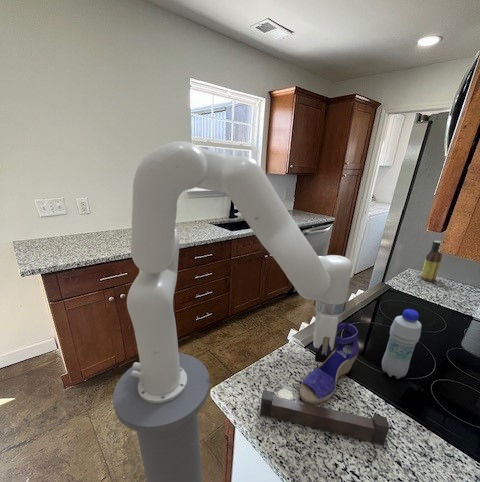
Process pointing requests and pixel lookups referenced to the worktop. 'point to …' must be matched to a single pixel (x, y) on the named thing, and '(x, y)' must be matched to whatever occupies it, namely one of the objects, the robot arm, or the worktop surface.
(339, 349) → the sandal
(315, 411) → the rail
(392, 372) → the bottle
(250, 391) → the worktop surface
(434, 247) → the sauce bottle
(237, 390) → the worktop surface
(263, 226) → the robot arm
